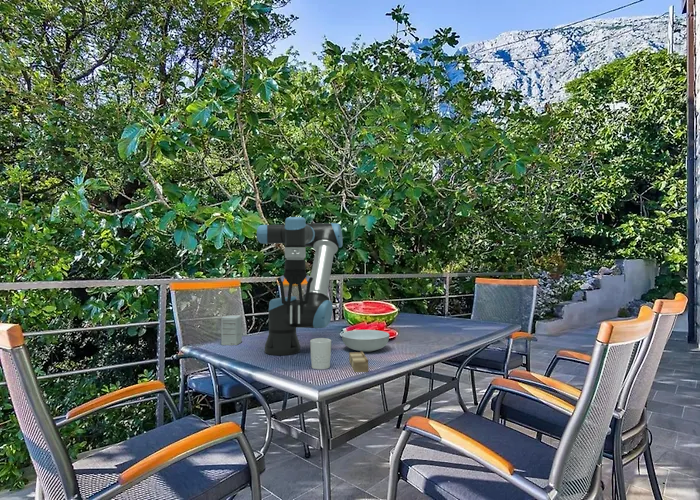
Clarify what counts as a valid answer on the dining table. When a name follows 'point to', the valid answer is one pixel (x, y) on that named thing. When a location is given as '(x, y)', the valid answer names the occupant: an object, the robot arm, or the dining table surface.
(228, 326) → the supplement box
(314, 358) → the white cup
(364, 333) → the serving bowl
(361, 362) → the brass metal channel
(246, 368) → the dining table surface
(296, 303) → the robot arm
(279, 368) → the dining table surface
